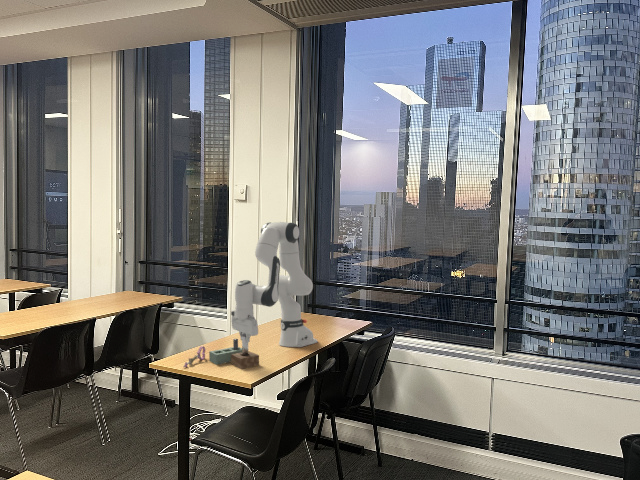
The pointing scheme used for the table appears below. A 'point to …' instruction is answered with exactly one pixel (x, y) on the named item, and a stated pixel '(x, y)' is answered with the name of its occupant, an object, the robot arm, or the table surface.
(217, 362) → the drill rack
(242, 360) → the socket block
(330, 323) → the table surface
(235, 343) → the dark grey peg
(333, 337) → the table surface
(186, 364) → the decorative key
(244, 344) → the metal cylinder rod
